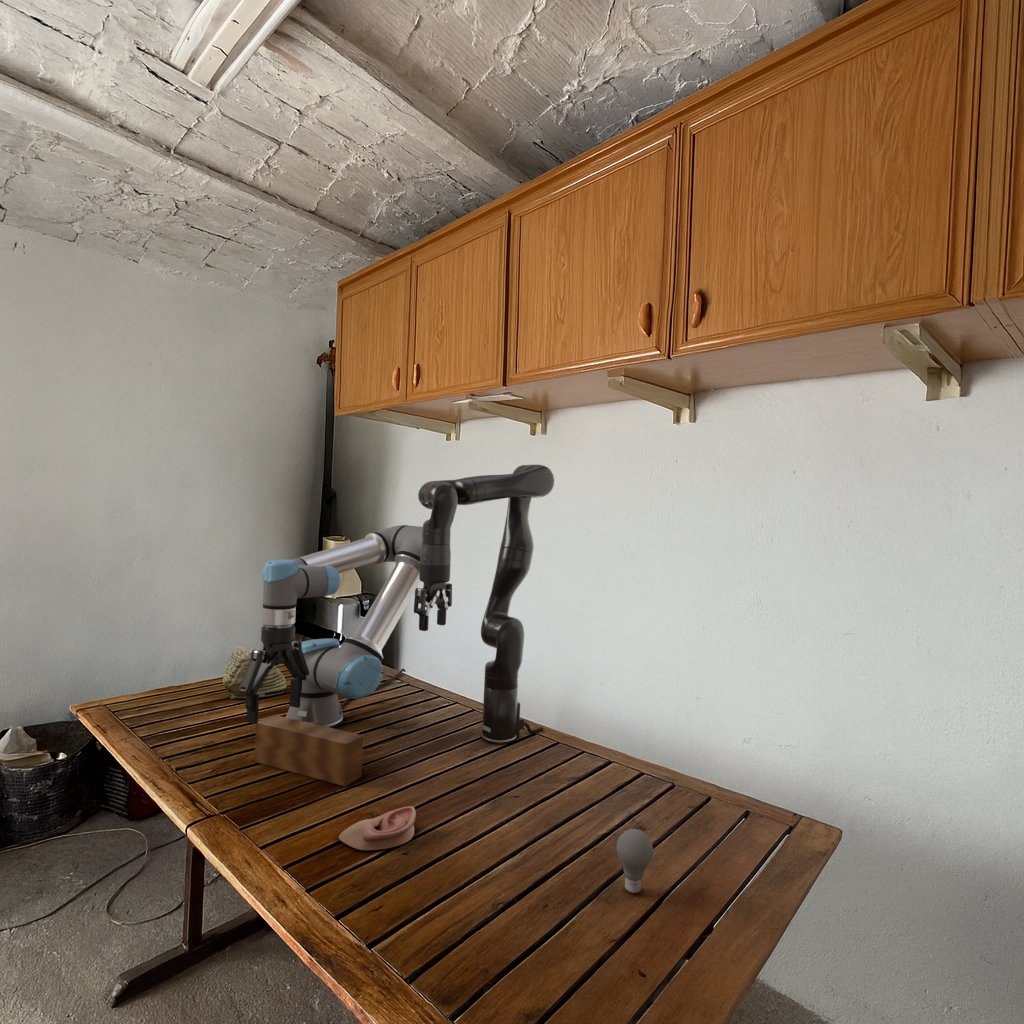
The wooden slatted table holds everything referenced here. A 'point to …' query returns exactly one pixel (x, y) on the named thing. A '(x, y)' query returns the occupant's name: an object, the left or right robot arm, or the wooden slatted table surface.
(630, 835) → the light bulb
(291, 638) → the left robot arm
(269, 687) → the fossil
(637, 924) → the wooden slatted table surface
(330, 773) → the bar
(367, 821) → the anatomical model
